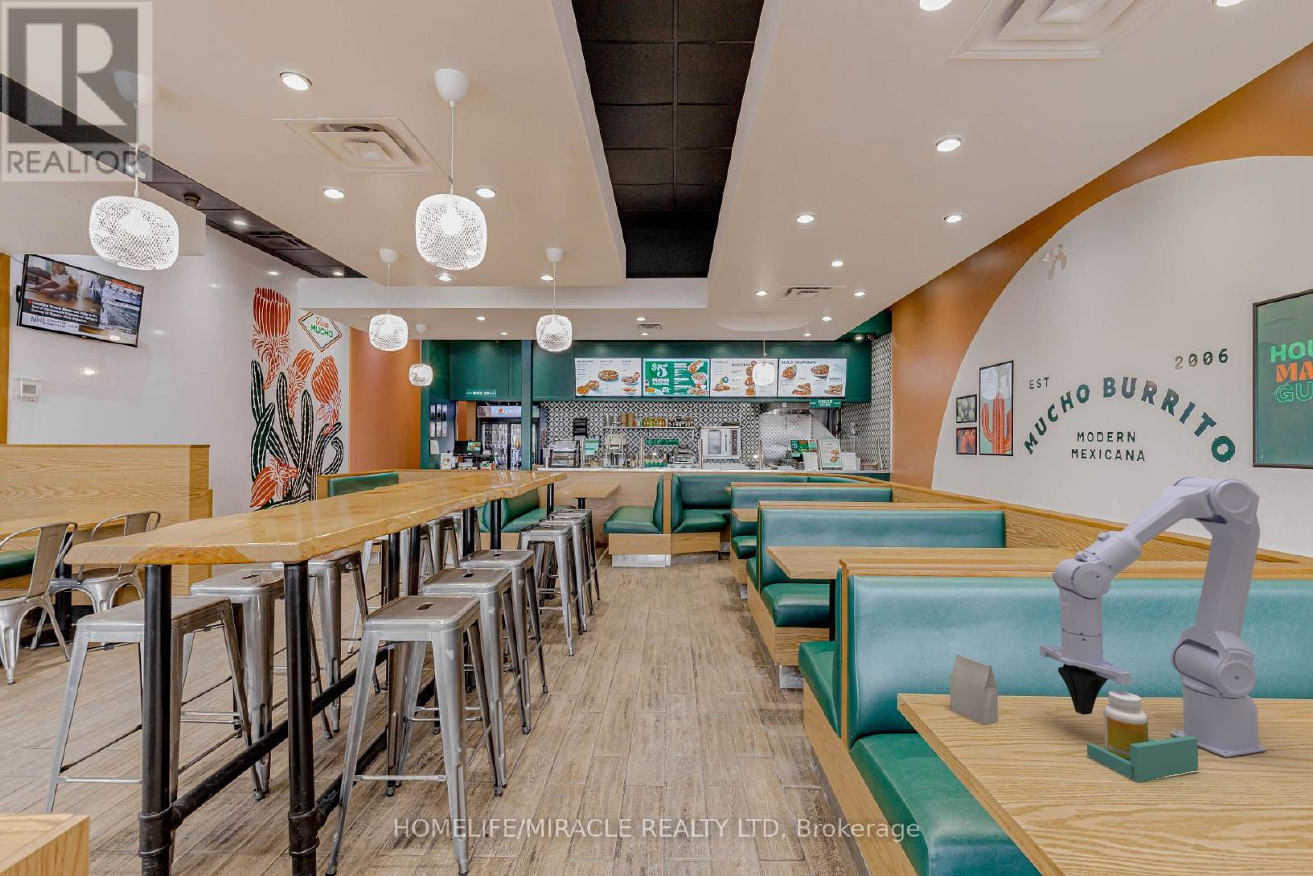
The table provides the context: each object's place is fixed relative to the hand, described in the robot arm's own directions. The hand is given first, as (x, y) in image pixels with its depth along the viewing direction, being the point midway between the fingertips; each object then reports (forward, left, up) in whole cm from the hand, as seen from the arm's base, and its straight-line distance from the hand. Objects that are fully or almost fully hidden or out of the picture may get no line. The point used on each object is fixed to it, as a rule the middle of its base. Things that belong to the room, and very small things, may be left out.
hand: (1083, 712), depth 98 cm
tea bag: (+12, -11, -4) cm, 17 cm away
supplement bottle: (0, +7, -4) cm, 8 cm away
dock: (0, +9, -4) cm, 10 cm away
